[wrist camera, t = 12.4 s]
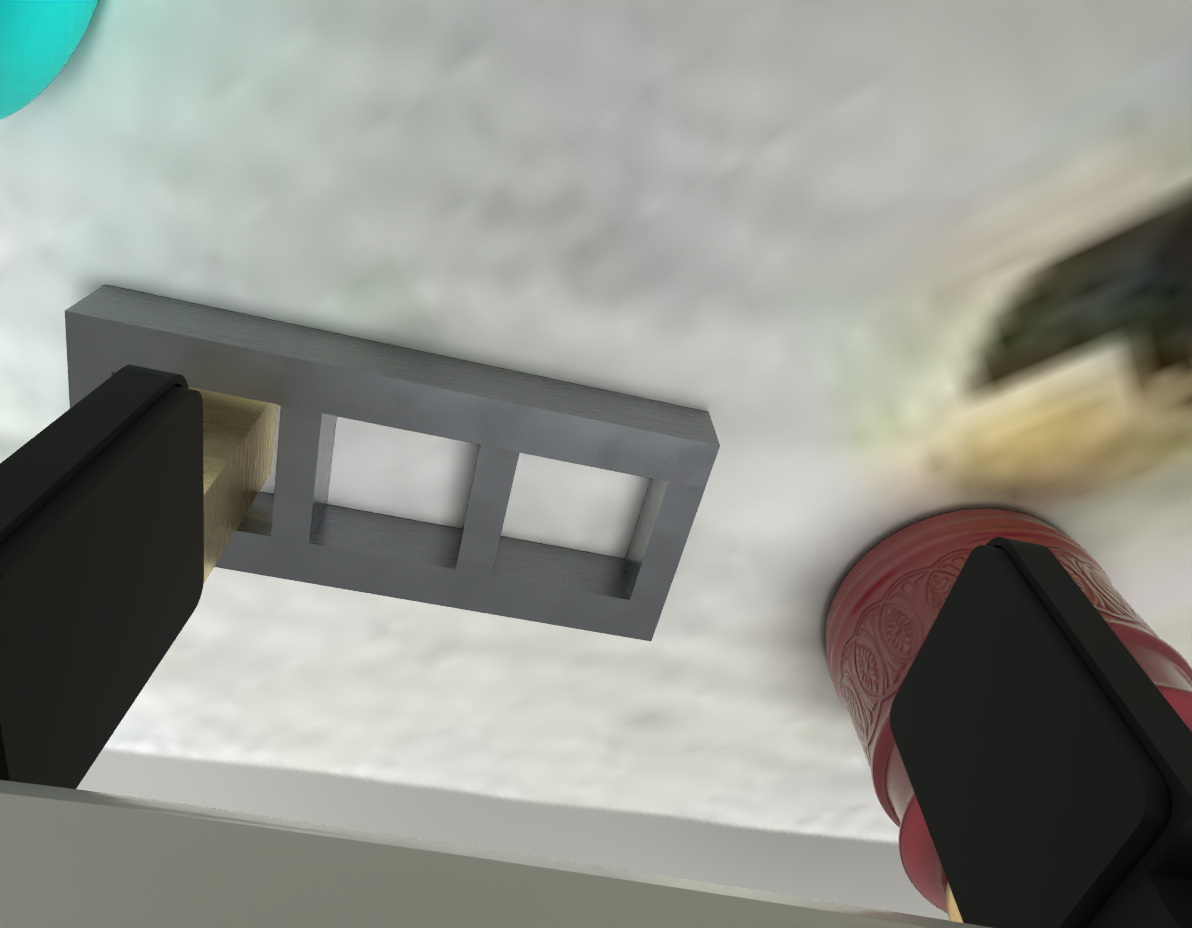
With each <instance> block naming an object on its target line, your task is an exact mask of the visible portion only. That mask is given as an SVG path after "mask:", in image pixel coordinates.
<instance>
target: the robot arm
mask: <svg viewBox="0 0 1192 928" xmlns="http://www.w3.org/2000/svg"><path fill="white" fill-rule="evenodd" d="M203 583H204V482H203V399H202V396H201V393H200V392H199V391H197V390H192V389H189V388H188V384H187V381H186V379H185V377H184V376H183V375H181V374H176V373H170V372H165V371H160V370H155V369H150V368H145V367H140V366H135V365H127V366H124V367H123V368H121V369H120V370H119V371H117V372H116V373H115V374H114V375H112V376H111V377H110V378H109V379H107V380H106V381H105V382H103V383H102V384H101V385H100V386H98V387H97V388H96V389H95V390H93V391H92V392H91V393H89V394H88V395H87V396H86V397H84V398H83V399H82V400H81V401H79V402H78V403H77V404H76V405H74V406H73V407H72V408H70V409H69V410H68V411H67V412H65V413H64V414H63V415H62V416H60V417H59V418H58V419H56V420H55V421H54V422H53V423H51V424H50V425H49V426H48V427H46V428H45V429H44V430H43V431H41V432H40V433H39V434H37V435H36V436H35V437H34V438H32V439H31V440H30V441H29V442H27V443H26V444H25V445H23V446H22V447H21V448H20V449H18V450H17V451H16V452H15V453H13V454H12V455H11V456H9V457H8V458H7V459H6V460H4V461H3V462H2V463H1V464H0V928H1192V732H1191V731H1190V729H1189V728H1188V727H1187V725H1186V724H1185V723H1184V722H1183V720H1182V719H1181V718H1180V716H1179V715H1178V714H1177V713H1176V711H1175V710H1174V709H1173V707H1172V706H1171V705H1170V704H1169V702H1168V701H1167V700H1166V698H1165V697H1164V696H1163V695H1162V693H1161V692H1160V691H1159V689H1158V688H1157V687H1156V685H1155V684H1154V683H1153V682H1152V680H1151V679H1150V678H1149V676H1148V675H1147V674H1146V673H1145V671H1144V670H1143V669H1142V667H1141V666H1140V665H1139V664H1138V662H1137V661H1136V660H1135V658H1134V657H1133V656H1132V655H1131V653H1130V652H1129V651H1128V649H1127V648H1126V647H1125V646H1124V644H1123V643H1122V642H1121V640H1120V639H1119V638H1118V637H1117V635H1116V634H1115V633H1114V631H1113V630H1112V629H1111V628H1110V626H1109V625H1108V624H1107V622H1106V621H1105V620H1104V618H1103V617H1102V616H1101V615H1100V613H1099V612H1098V611H1097V609H1096V608H1095V607H1094V606H1093V604H1092V603H1091V602H1090V600H1089V599H1088V598H1087V597H1086V595H1085V594H1084V593H1083V591H1082V590H1081V589H1080V588H1079V586H1078V585H1077V584H1076V582H1075V581H1074V580H1073V579H1072V577H1071V576H1070V575H1069V573H1068V572H1067V571H1066V570H1065V568H1064V567H1063V566H1062V564H1061V563H1060V562H1059V561H1058V559H1057V558H1056V557H1055V555H1054V554H1053V553H1052V552H1051V550H1049V549H1048V548H1047V547H1046V546H1043V545H1039V544H1034V543H1029V542H1024V541H1019V540H1014V539H1009V538H1004V537H996V538H993V539H991V540H990V541H989V542H988V543H987V544H986V545H979V546H977V547H975V548H974V549H973V550H972V552H971V553H970V555H969V556H968V558H967V560H966V562H965V564H964V566H963V568H962V570H961V572H960V573H959V575H958V577H957V579H956V581H955V583H954V585H953V587H952V589H951V591H950V593H949V594H948V596H947V598H946V600H945V602H944V604H943V606H942V608H941V610H940V612H939V614H938V616H937V617H936V619H935V621H934V623H933V625H932V627H931V629H930V631H929V633H928V635H927V637H926V638H925V640H924V642H923V644H922V646H921V648H920V650H919V652H918V654H917V656H916V658H915V660H914V661H913V663H912V665H911V667H910V669H909V671H908V673H907V675H906V677H905V679H904V681H903V682H902V684H901V686H900V688H899V690H898V692H897V694H896V696H895V698H894V700H893V702H892V705H891V710H890V727H891V731H892V734H893V737H894V740H895V742H896V745H897V748H898V750H899V753H900V756H901V758H902V761H903V764H904V766H905V769H906V772H907V774H908V777H909V780H910V782H911V785H912V788H913V790H914V793H915V796H916V798H917V801H918V804H919V806H920V809H921V812H922V814H923V817H924V820H925V822H926V825H927V828H928V830H929V833H930V835H931V838H932V841H933V843H934V846H935V849H936V851H937V854H938V857H939V859H940V862H941V865H942V867H943V870H944V873H945V875H946V878H947V881H948V883H949V886H950V889H951V891H952V894H953V897H954V899H955V902H956V905H957V907H958V910H959V913H960V915H961V918H962V921H963V923H960V922H954V921H947V920H941V919H935V918H929V917H923V916H916V915H909V914H904V913H898V912H891V911H885V910H879V909H873V908H865V907H860V906H853V905H848V904H841V903H835V902H828V901H823V900H816V899H810V898H804V897H797V896H791V895H784V894H778V893H771V892H765V891H759V890H752V889H746V888H739V887H733V886H726V885H720V884H713V883H707V882H700V881H694V880H688V879H681V878H675V877H668V876H662V875H655V874H649V873H642V872H635V871H629V870H623V869H616V868H610V867H603V866H596V865H590V864H584V863H577V862H570V861H563V860H557V859H551V858H544V857H538V856H531V855H525V854H518V853H511V852H505V851H499V850H492V849H485V848H478V847H472V846H465V845H458V844H452V843H445V842H438V841H431V840H425V839H418V838H411V837H405V836H398V835H391V834H383V833H377V832H370V831H364V830H357V829H351V828H343V827H336V826H330V825H324V824H316V823H310V822H303V821H297V820H289V819H283V818H276V817H270V816H263V815H256V814H249V813H242V812H236V811H229V810H222V809H216V808H209V807H202V806H195V805H187V804H180V803H173V802H165V801H158V800H151V799H143V798H136V797H129V796H121V795H114V794H106V793H99V792H92V791H85V790H77V789H76V788H77V786H78V785H79V783H80V782H81V780H82V779H83V777H84V776H85V774H86V773H87V771H88V770H89V768H90V767H91V765H92V764H93V762H94V761H95V759H96V758H97V756H98V755H99V753H100V752H101V750H102V749H103V747H104V746H105V744H106V743H107V741H108V740H109V738H110V737H111V735H112V734H113V732H114V731H115V729H116V728H117V726H118V725H119V723H120V722H121V720H122V719H123V717H124V716H125V714H126V713H127V711H128V710H129V708H130V707H131V705H132V704H133V702H134V701H135V699H136V698H137V696H138V695H139V693H140V692H141V690H142V689H143V687H144V686H145V684H146V682H147V681H148V679H149V678H150V676H151V675H152V673H153V672H154V670H155V669H156V667H157V666H158V664H159V663H160V661H161V660H162V658H163V657H164V655H165V654H166V652H167V651H168V649H169V648H170V646H171V645H172V643H173V642H174V640H175V639H176V637H177V636H178V634H179V633H180V631H181V630H182V628H183V627H184V625H185V624H186V622H187V621H188V619H189V618H190V616H191V615H192V613H193V612H194V610H195V608H196V606H197V604H198V602H199V599H200V596H201V593H202V589H203Z"/></svg>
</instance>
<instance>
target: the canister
mask: <svg viewBox="0 0 1192 928" xmlns="http://www.w3.org/2000/svg"><path fill="white" fill-rule="evenodd" d="M996 537H1004V538H1009V539H1014V540H1019V541H1024V542H1029V543H1034V544H1039V545H1043V546H1046V547H1047V548H1048V549H1049V550H1051V552H1052V553H1053V554H1054V555H1055V557H1056V558H1057V559H1058V561H1059V562H1060V563H1061V564H1062V566H1063V567H1064V568H1065V570H1066V571H1067V572H1068V573H1069V575H1070V576H1071V577H1072V579H1073V580H1074V581H1075V582H1076V584H1077V585H1078V586H1079V588H1080V589H1081V590H1082V591H1083V593H1084V594H1085V595H1086V597H1087V598H1088V599H1089V600H1090V602H1091V603H1092V604H1093V606H1094V607H1095V608H1096V609H1097V611H1098V612H1099V613H1100V615H1101V616H1102V617H1103V618H1104V620H1105V621H1106V622H1107V624H1108V625H1109V626H1110V628H1111V629H1112V630H1113V631H1114V633H1115V634H1116V635H1117V637H1118V638H1119V639H1120V640H1121V642H1122V643H1123V644H1124V646H1125V647H1126V648H1127V649H1128V651H1129V652H1130V653H1131V655H1132V656H1133V657H1134V658H1135V660H1136V661H1137V662H1138V664H1139V665H1140V666H1141V667H1142V669H1143V670H1144V671H1145V673H1146V674H1147V675H1148V676H1149V678H1150V679H1151V680H1152V682H1153V683H1154V684H1155V685H1156V687H1157V688H1158V689H1159V691H1160V692H1161V693H1162V695H1163V696H1164V697H1165V698H1166V700H1167V701H1168V702H1169V704H1170V705H1171V706H1172V707H1173V709H1174V710H1175V711H1176V713H1177V714H1178V715H1179V716H1180V718H1181V719H1182V720H1183V722H1184V723H1185V724H1186V725H1187V727H1188V728H1189V729H1190V731H1191V732H1192V668H1191V666H1190V665H1189V664H1188V662H1187V661H1186V660H1185V659H1184V658H1183V657H1182V655H1181V654H1180V653H1179V652H1178V651H1176V650H1175V649H1174V648H1173V647H1172V646H1170V645H1169V644H1168V643H1166V642H1165V641H1163V640H1162V639H1160V638H1159V637H1158V636H1157V635H1156V633H1155V632H1154V631H1153V630H1152V629H1151V628H1150V627H1149V626H1148V625H1147V624H1146V622H1145V621H1144V620H1143V619H1142V618H1141V617H1140V616H1139V615H1138V614H1137V613H1136V612H1135V610H1134V609H1133V608H1132V607H1131V606H1130V605H1129V604H1128V603H1127V602H1126V601H1125V599H1124V598H1123V597H1122V596H1121V595H1120V594H1119V593H1118V592H1117V591H1116V590H1115V588H1114V587H1113V586H1112V585H1111V582H1110V580H1109V579H1108V577H1107V575H1106V573H1105V572H1104V570H1103V569H1102V568H1101V566H1100V565H1099V564H1098V563H1097V562H1096V561H1095V560H1094V559H1093V558H1092V557H1091V556H1090V555H1089V554H1088V553H1087V551H1086V550H1085V549H1084V548H1083V547H1081V546H1080V545H1079V544H1078V543H1077V542H1075V541H1074V540H1072V539H1071V538H1070V537H1068V536H1066V535H1065V534H1063V533H1061V532H1059V531H1057V530H1056V529H1055V528H1053V527H1052V526H1050V525H1048V524H1047V523H1045V522H1043V521H1041V520H1039V519H1037V518H1034V517H1032V516H1029V515H1026V514H1022V513H1019V512H1014V511H1009V510H1001V509H968V510H960V511H954V512H949V513H945V514H940V515H937V516H934V517H930V518H927V519H925V520H922V521H919V522H917V523H915V524H912V525H910V526H908V527H906V528H904V529H902V530H900V531H898V532H896V533H895V534H893V535H891V536H890V537H888V538H887V539H885V540H884V541H882V542H881V543H879V544H878V545H877V546H875V547H874V548H873V549H871V550H870V551H869V552H868V553H867V554H866V555H865V556H864V557H863V558H861V559H860V560H859V561H858V562H857V564H856V565H855V566H854V567H853V568H852V569H851V570H850V572H849V573H848V574H847V576H846V577H845V578H844V580H843V581H842V583H841V584H840V586H839V588H838V590H837V591H836V593H835V595H834V598H833V600H832V602H831V605H830V608H829V611H828V616H827V620H826V630H825V637H826V646H827V662H828V668H829V672H830V675H831V678H832V681H833V683H834V686H835V689H836V692H837V694H838V697H839V698H840V700H841V702H842V704H843V705H844V707H845V708H846V710H847V711H848V712H849V714H850V717H851V719H852V722H853V724H854V727H855V730H856V732H857V735H858V737H859V740H860V742H861V745H862V748H863V750H864V753H865V755H866V758H867V760H868V763H869V766H870V768H871V774H872V780H873V785H874V789H875V792H876V795H877V797H878V800H879V802H880V804H881V805H882V807H883V809H884V810H885V812H886V813H887V815H888V816H889V817H890V818H891V820H892V821H893V822H894V823H895V824H896V825H897V826H898V827H899V828H900V830H899V850H900V856H901V860H902V864H903V867H904V869H905V872H906V874H907V875H908V877H909V879H910V881H911V882H912V884H913V885H914V886H915V888H916V889H917V890H918V891H919V892H920V893H921V894H922V895H923V897H925V898H926V899H927V900H928V901H929V902H931V903H932V904H933V905H935V906H936V907H938V908H939V909H941V910H943V911H944V912H946V913H948V916H949V919H950V921H954V922H960V923H963V921H962V918H961V915H960V913H959V910H958V907H957V905H956V902H955V899H954V897H953V894H952V891H951V889H950V886H949V883H948V881H947V878H946V875H945V873H944V870H943V867H942V865H941V862H940V859H939V857H938V854H937V851H936V849H935V846H934V843H933V841H932V838H931V835H930V833H929V830H928V828H927V825H926V822H925V820H924V817H923V814H922V812H921V809H920V806H919V804H918V801H917V798H916V796H915V793H914V790H913V788H912V785H911V782H910V780H909V777H908V774H907V772H906V769H905V766H904V764H903V761H902V758H901V756H900V753H899V750H898V748H897V745H896V742H895V740H894V737H893V734H892V731H891V727H890V710H891V705H892V702H893V700H894V698H895V696H896V694H897V692H898V690H899V688H900V686H901V684H902V682H903V681H904V679H905V677H906V675H907V673H908V671H909V669H910V667H911V665H912V663H913V661H914V660H915V658H916V656H917V654H918V652H919V650H920V648H921V646H922V644H923V642H924V640H925V638H926V637H927V635H928V633H929V631H930V629H931V627H932V625H933V623H934V621H935V619H936V617H937V616H938V614H939V612H940V610H941V608H942V606H943V604H944V602H945V600H946V598H947V596H948V594H949V593H950V591H951V589H952V587H953V585H954V583H955V581H956V579H957V577H958V575H959V573H960V572H961V570H962V568H963V566H964V564H965V562H966V560H967V558H968V556H969V555H970V553H971V552H972V550H973V549H974V548H975V547H977V546H979V545H986V544H987V543H988V542H989V541H990V540H991V539H993V538H996Z"/></svg>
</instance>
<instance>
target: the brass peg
mask: <svg viewBox="0 0 1192 928" xmlns="http://www.w3.org/2000/svg"><path fill="white" fill-rule="evenodd" d="M188 388H189V389H192V390H197V391H199V392H200V393H201V396H202V399H203V482H204V582H205V581H206V579H207V577H208V576H209V574H210V573H211V571H212V569H213V568H214V566H215V564H216V563H217V561H218V559H219V558H220V556H221V554H222V553H223V551H224V549H225V548H226V546H227V545H228V543H229V541H230V540H231V538H232V536H233V535H234V533H235V531H236V530H237V528H238V526H239V525H240V523H241V521H242V520H243V518H244V517H245V515H246V513H247V512H248V510H249V508H250V507H251V505H252V503H253V502H254V500H255V498H256V497H257V495H258V493H259V492H260V490H261V489H262V487H263V485H264V484H265V482H266V480H267V479H268V477H269V475H270V473H271V462H272V452H273V441H274V431H275V420H276V409H277V404H273V403H268V402H263V401H258V400H253V399H248V398H243V397H237V396H232V395H227V394H222V393H217V392H212V391H207V390H202V389H197V388H192V387H188ZM203 584H204V583H203Z"/></svg>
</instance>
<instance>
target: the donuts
mask: <svg viewBox="0 0 1192 928" xmlns="http://www.w3.org/2000/svg"><path fill="white" fill-rule="evenodd" d="M98 1H99V0H0V119H3V118H5V117H7V116H9V115H11V114H13V113H15V112H17V111H18V110H20V109H21V108H23V107H24V106H26V105H27V104H29V103H30V102H31V101H32V100H33V99H34V98H35V97H37V96H38V95H39V94H41V92H42V91H43V90H44V89H45V88H46V87H47V86H48V85H49V84H50V83H51V82H52V81H53V79H54V78H55V77H56V76H57V75H58V74H59V73H60V71H61V69H62V68H63V67H64V66H65V64H66V63H67V62H68V60H69V58H70V56H71V55H72V54H73V52H74V51H75V49H76V48H77V46H78V44H79V42H80V40H81V38H82V36H83V35H84V33H85V31H86V29H87V27H88V25H89V23H90V20H91V18H92V15H93V12H94V10H95V8H96V6H97V3H98Z"/></svg>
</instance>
